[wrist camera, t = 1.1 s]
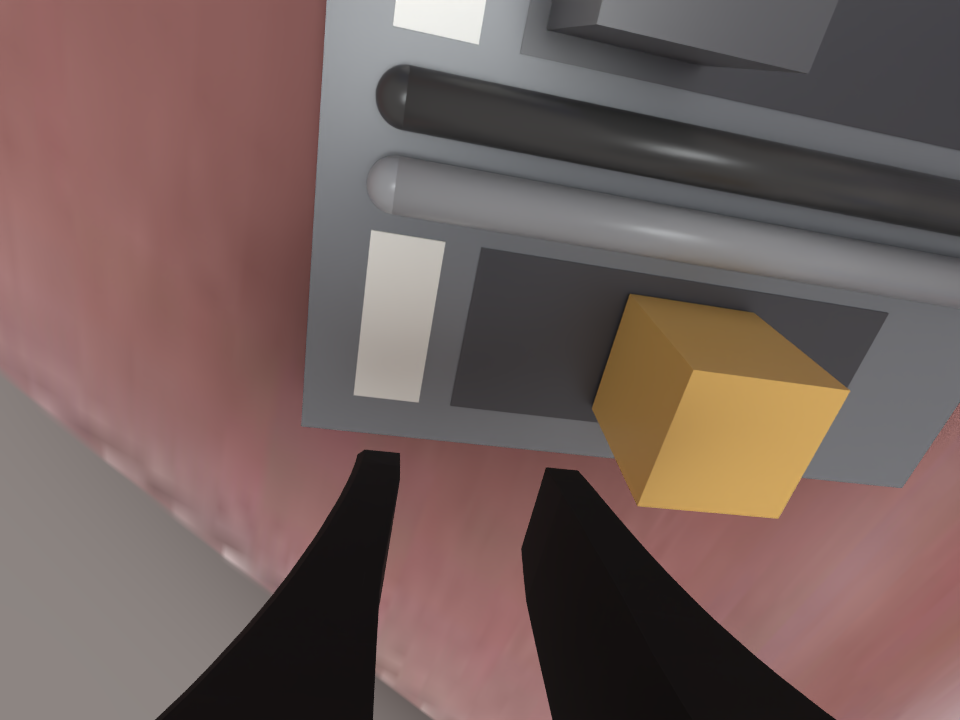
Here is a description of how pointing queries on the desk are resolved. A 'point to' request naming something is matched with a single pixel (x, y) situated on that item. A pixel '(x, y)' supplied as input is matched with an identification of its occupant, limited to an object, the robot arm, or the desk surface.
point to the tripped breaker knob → (711, 408)
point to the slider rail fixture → (632, 209)
